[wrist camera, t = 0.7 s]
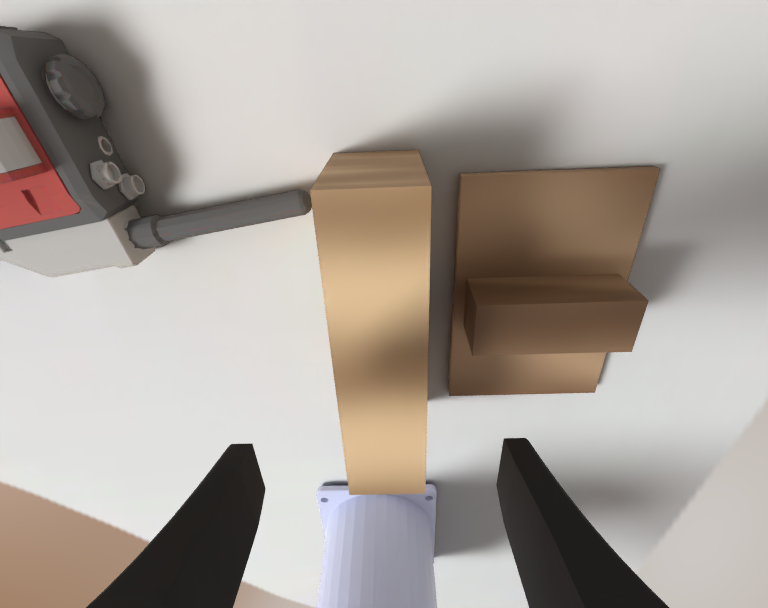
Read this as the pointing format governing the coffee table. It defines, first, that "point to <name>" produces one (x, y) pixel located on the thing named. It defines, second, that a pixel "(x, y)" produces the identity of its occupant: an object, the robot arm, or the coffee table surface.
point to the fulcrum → (545, 277)
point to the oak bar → (377, 312)
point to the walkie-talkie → (83, 172)
